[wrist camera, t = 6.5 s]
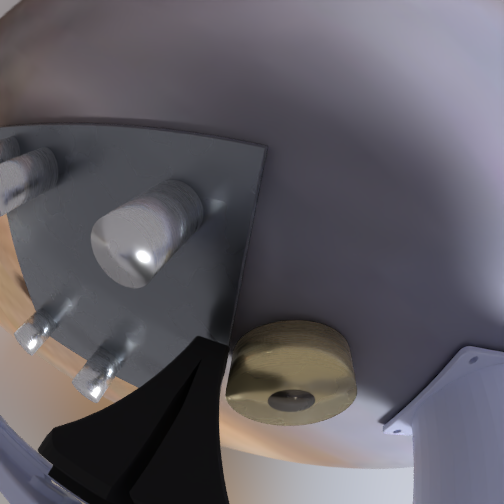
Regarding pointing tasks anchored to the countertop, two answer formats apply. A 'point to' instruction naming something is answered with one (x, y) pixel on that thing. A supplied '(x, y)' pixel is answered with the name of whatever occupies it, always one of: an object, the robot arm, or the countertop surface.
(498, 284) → the countertop surface
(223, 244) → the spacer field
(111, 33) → the countertop surface
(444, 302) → the countertop surface
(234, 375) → the brass nut
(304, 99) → the countertop surface
